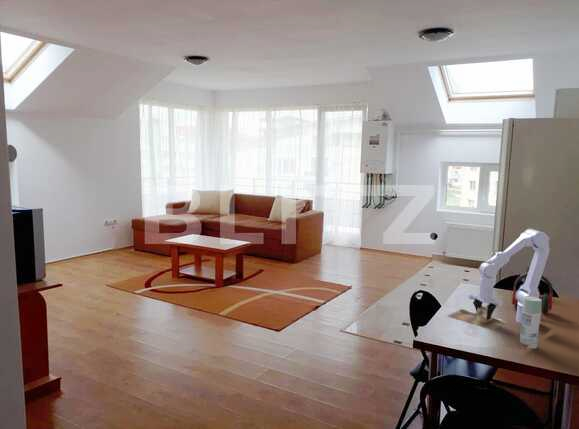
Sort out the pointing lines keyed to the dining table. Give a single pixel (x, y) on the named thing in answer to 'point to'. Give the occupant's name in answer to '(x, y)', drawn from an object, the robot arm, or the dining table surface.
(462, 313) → the walnut board
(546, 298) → the headphones
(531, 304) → the spray paint can
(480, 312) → the block
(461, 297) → the dining table surface
